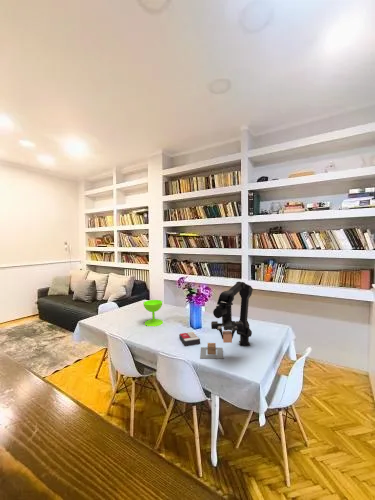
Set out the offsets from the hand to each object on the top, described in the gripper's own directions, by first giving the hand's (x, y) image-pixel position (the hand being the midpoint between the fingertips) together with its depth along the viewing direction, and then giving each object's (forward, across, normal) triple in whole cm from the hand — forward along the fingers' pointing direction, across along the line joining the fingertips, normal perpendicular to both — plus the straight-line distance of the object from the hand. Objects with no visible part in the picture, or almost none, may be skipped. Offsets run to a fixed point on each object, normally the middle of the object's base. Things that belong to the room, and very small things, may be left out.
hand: (227, 339), depth 150 cm
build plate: (+11, -10, +4) cm, 15 cm away
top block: (+1, 0, 0) cm, 1 cm away
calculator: (+12, -24, +23) cm, 35 cm away
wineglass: (+11, -57, +58) cm, 82 cm away
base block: (+10, -9, +4) cm, 15 cm away
